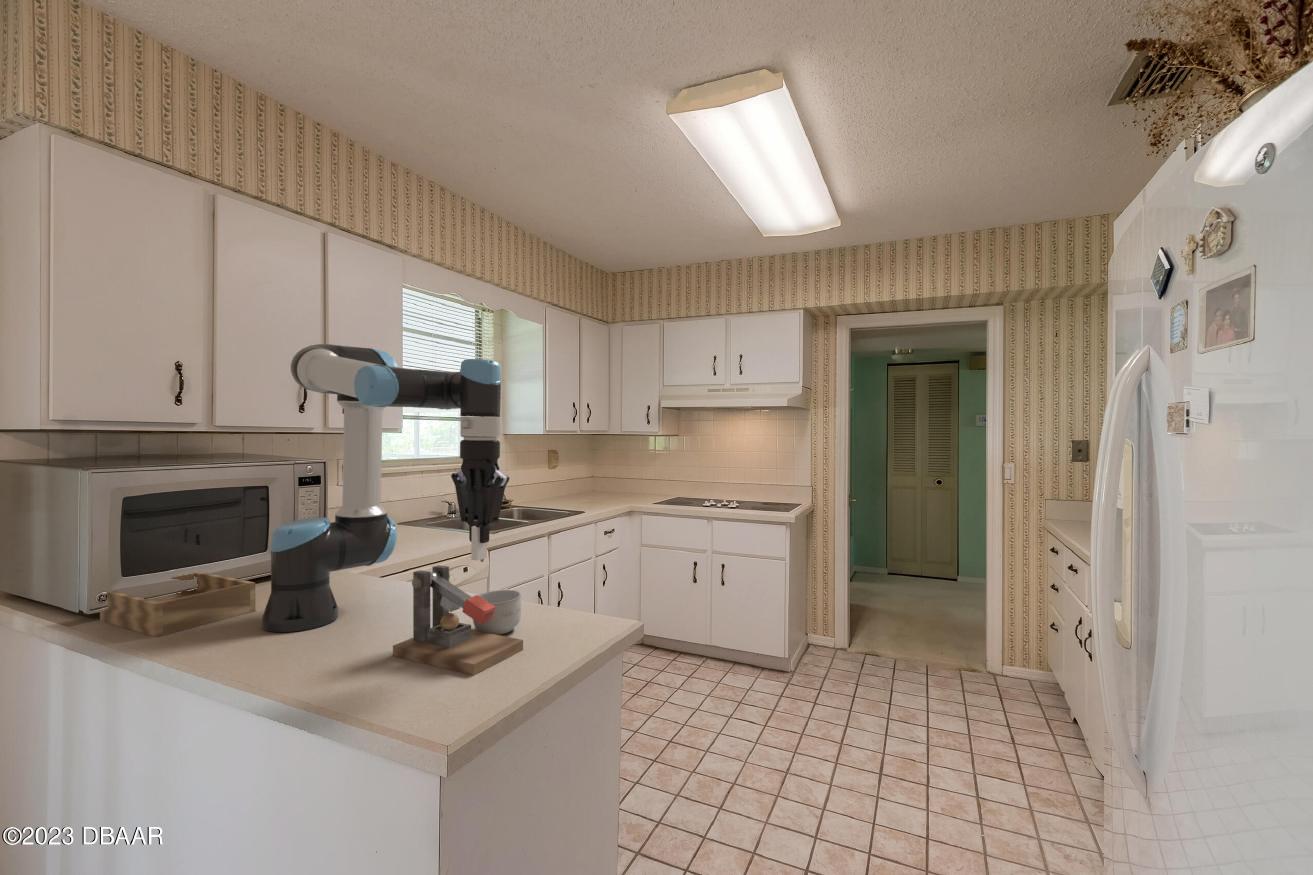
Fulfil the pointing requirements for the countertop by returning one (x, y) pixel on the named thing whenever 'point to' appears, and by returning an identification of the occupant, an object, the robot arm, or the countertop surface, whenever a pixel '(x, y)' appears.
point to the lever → (461, 600)
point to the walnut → (449, 622)
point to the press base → (449, 635)
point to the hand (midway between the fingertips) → (479, 558)
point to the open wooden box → (182, 606)
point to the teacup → (501, 611)
